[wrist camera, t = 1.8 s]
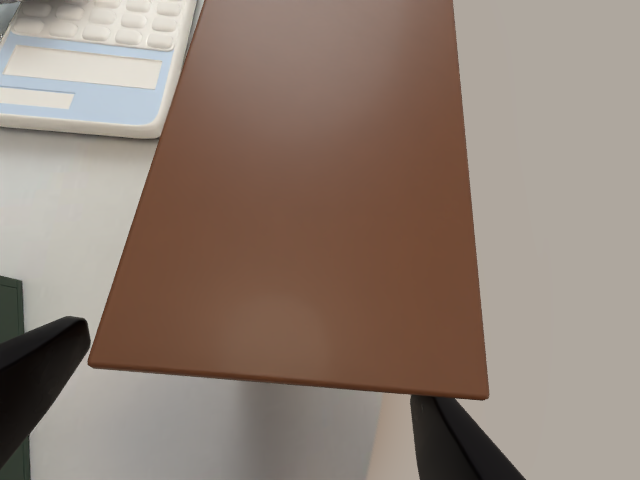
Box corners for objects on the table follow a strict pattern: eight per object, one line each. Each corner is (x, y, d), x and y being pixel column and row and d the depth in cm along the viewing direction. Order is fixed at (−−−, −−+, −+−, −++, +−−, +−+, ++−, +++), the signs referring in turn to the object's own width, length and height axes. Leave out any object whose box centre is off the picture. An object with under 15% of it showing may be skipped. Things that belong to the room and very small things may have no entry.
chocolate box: (348, 361, 14) (493, 402, 4) (225, 351, 13) (81, 368, 4) (359, 157, 17) (448, -65, 8) (263, 143, 17) (237, -109, 7)
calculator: (204, -21, 30) (199, -44, 29) (167, 144, 24) (157, 128, 22) (62, -40, 29) (48, -66, 27) (-19, 128, 22) (-45, 110, 21)
